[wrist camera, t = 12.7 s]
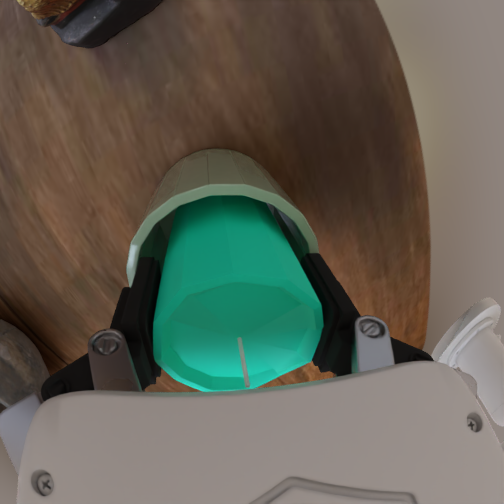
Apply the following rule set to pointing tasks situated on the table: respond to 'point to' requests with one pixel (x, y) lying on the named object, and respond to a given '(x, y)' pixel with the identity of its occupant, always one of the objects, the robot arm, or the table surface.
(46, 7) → the statue
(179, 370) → the candle
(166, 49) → the table surface
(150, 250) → the tin
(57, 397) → the robot arm
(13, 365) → the bowl
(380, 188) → the table surface
